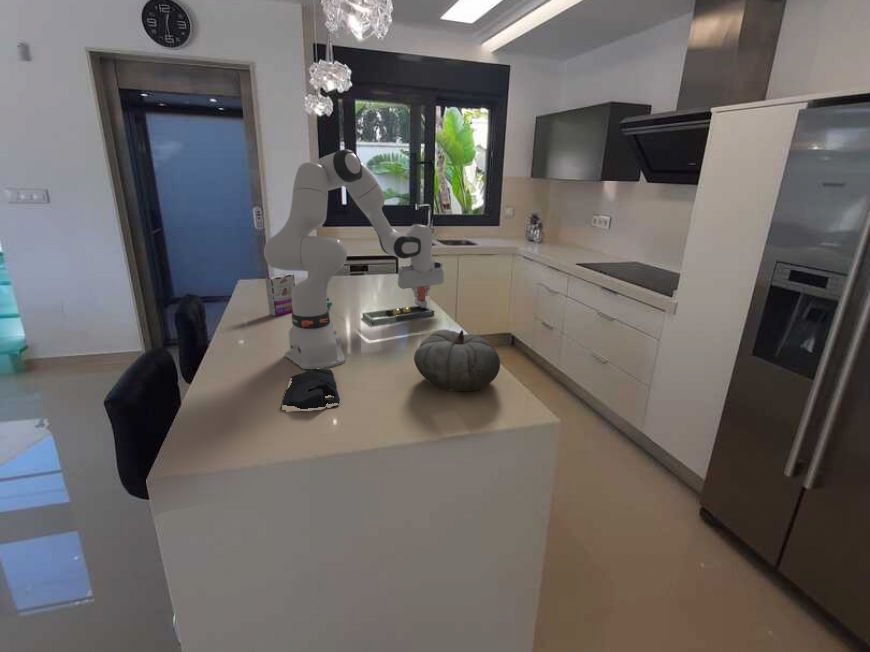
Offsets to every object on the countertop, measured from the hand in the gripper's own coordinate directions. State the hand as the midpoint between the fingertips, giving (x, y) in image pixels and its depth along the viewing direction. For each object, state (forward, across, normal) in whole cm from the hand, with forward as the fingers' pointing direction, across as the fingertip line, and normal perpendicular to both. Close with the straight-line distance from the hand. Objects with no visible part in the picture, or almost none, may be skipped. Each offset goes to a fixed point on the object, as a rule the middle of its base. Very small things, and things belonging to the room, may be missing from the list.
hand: (421, 296), depth 192 cm
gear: (+9, -37, +25) cm, 45 cm away
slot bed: (+8, -6, 0) cm, 10 cm away
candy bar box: (+9, -51, +29) cm, 60 cm away
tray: (+8, -18, 0) cm, 20 cm away
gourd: (+8, -21, -62) cm, 66 cm away
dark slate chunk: (+9, -60, -49) cm, 78 cm away
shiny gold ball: (+7, -12, 0) cm, 14 cm away
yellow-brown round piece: (+7, -7, 0) cm, 10 cm away
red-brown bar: (+4, 0, 0) cm, 4 cm away
